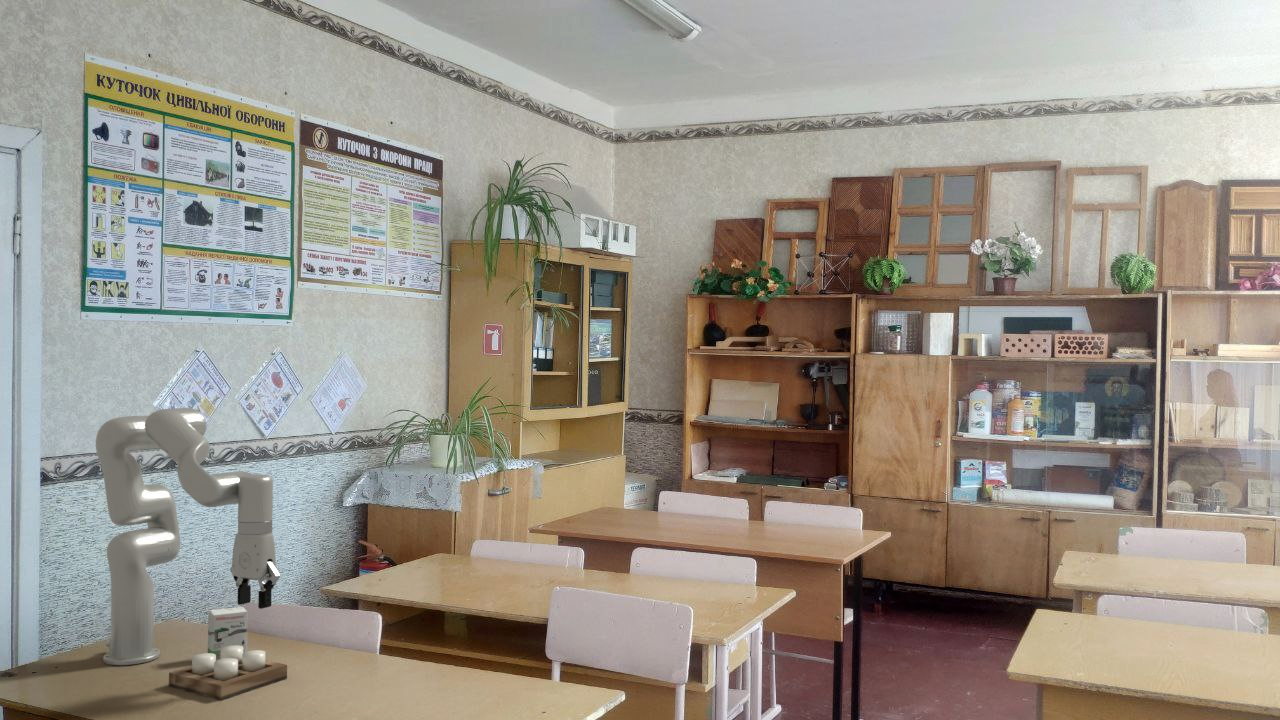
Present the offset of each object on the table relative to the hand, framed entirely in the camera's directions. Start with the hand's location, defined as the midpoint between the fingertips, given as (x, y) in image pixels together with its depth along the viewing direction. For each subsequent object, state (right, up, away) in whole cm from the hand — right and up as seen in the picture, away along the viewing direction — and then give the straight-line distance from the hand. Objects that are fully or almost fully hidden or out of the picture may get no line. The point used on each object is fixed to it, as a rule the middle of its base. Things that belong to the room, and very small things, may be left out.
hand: (254, 604), depth 236 cm
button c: (-4, -15, -7) cm, 17 cm away
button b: (-7, -15, +4) cm, 17 cm away
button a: (-11, -15, -3) cm, 18 cm away
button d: (0, -15, 0) cm, 15 cm away
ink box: (-14, -18, +18) cm, 29 cm away
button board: (-5, -18, -1) cm, 18 cm away
